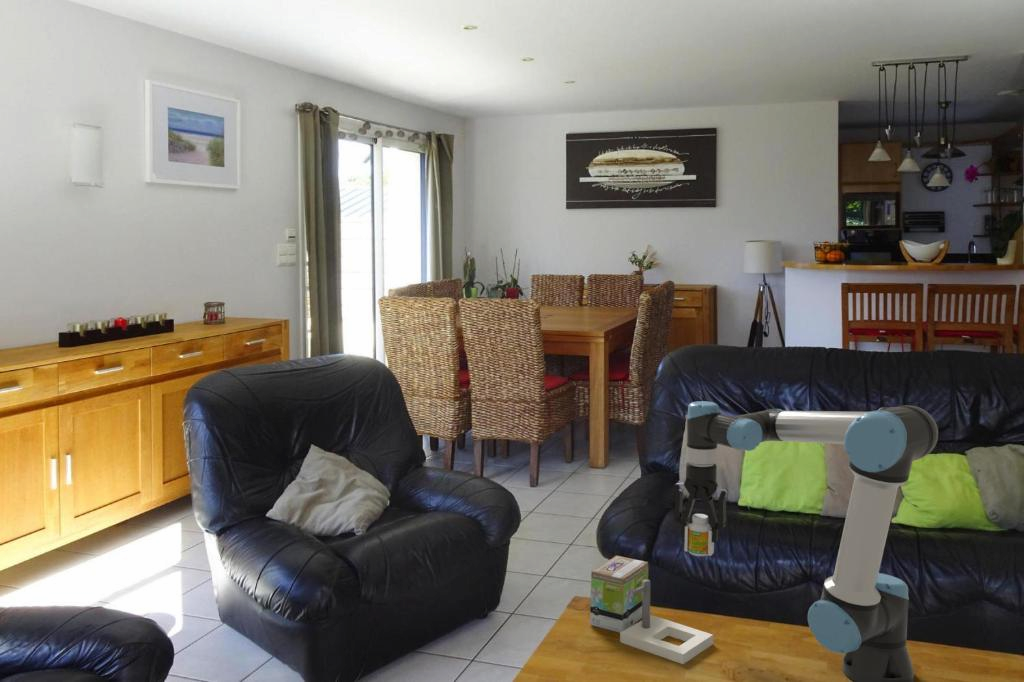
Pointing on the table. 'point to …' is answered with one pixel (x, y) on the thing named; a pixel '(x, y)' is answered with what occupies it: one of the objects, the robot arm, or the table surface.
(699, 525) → the supplement bottle
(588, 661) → the table surface
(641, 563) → the tea box
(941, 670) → the table surface
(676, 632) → the white square-hole base
